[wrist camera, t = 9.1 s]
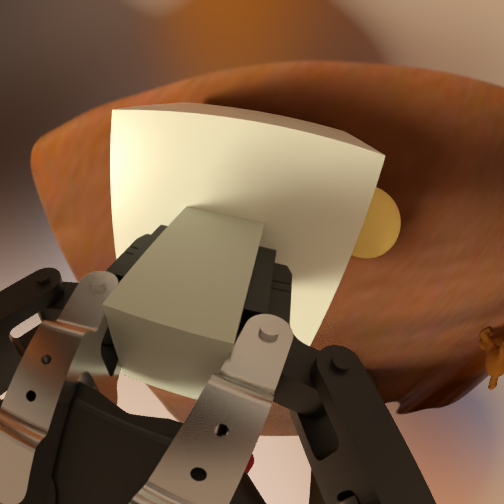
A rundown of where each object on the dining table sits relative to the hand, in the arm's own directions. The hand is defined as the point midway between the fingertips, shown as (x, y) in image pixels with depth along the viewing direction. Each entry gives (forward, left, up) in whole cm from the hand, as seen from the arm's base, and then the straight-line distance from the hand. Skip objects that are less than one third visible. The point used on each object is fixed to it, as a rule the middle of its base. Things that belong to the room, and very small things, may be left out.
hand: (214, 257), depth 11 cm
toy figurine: (-34, +11, -11) cm, 37 cm away
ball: (-8, 0, -8) cm, 12 cm away
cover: (0, 0, -10) cm, 10 cm away
